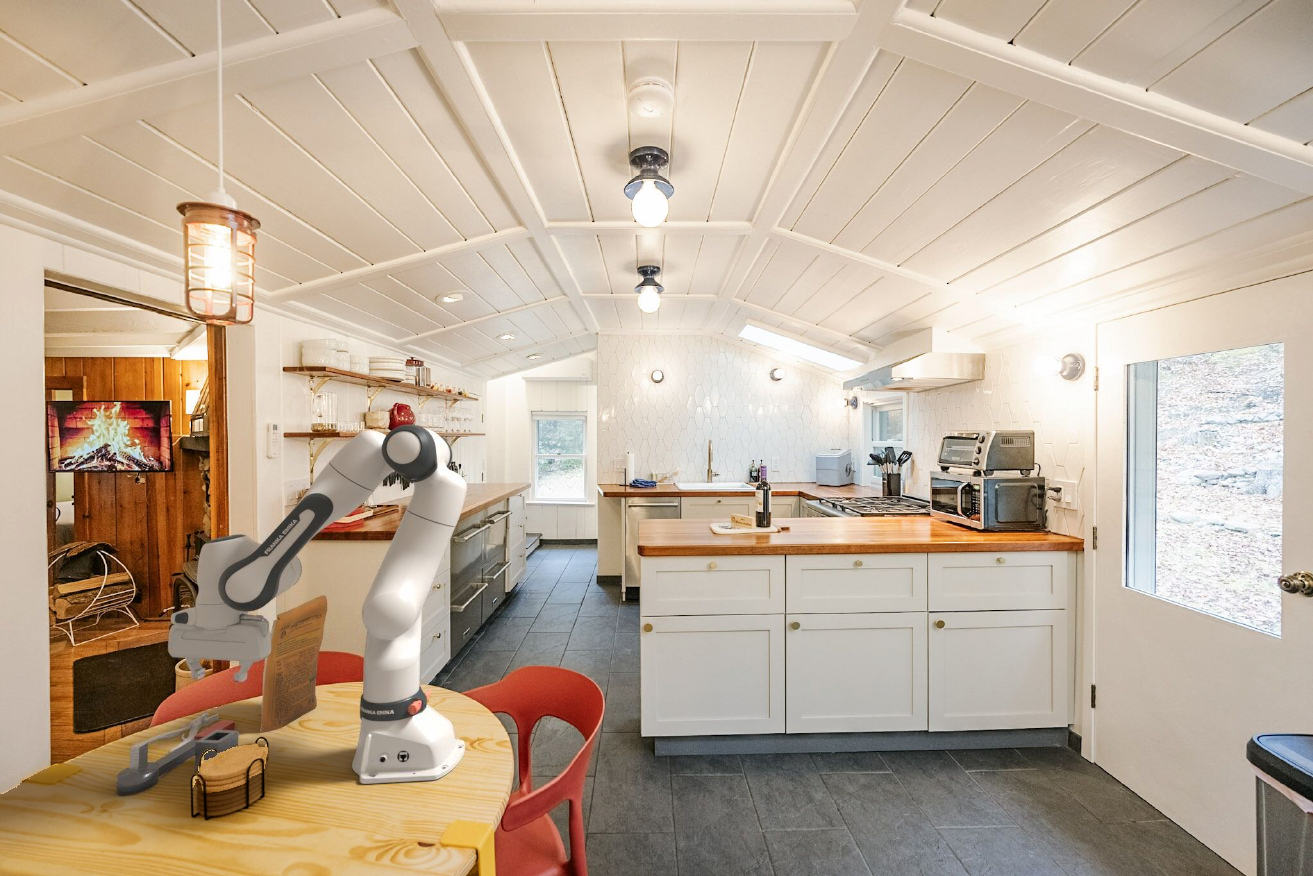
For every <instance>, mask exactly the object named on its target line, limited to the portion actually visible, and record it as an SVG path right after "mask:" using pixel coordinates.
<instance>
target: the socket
mask: <svg viewBox="0 0 1313 876" xmlns="http://www.w3.org/2000/svg"><path fill="white" fill-rule="evenodd" d="M239 733H240V732H239V730H235V731H232V730H215V731H213V732H212V733H210V734H208V735H207V736H205V737H203V738H201V739H200V740H198V741H196V743H195V756H194V773H195V772H196V773H198V772H197V771H198V766H199V762H200V759H201V755H202V753H204V751H206V750H207V749H216V750H217V752H216V751H212V750H211V751H208V753H206V754H205V755H204V760H208V759H209V758H213V757H215V756H216V755H217V753H220V752H223V751H226V750H227V749H230V748H232V747H236V746H238V747H239Z"/></svg>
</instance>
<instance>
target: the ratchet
mask: <svg viewBox="0 0 1313 876" xmlns="http://www.w3.org/2000/svg"><path fill="white" fill-rule="evenodd" d="M235 726H236V721H233V720H219V721H218V722H217V723H215V724H213V725H211V726H209V727H208V728H206V729H204V730H203V731H200V732H199V733H197V735H195V736H194V739H193V740H191V741H190V742H188V743H186V744H184V745H183V746H181V747H179V748H178V749H176V750H174V751H172V752H171V753H169V752H168V753H167V754H165V755H163V756H162V757H160V758H159V759H157V760H156V761H148V757H149V743H148V742H144V741H139V742H137V743H135V744H134V745H131V746H130V750H129V766H128V767H126V768H125V769H123V770H121V771H120V772H119V773H118V774H117V775H116V795H118V796H121V797H123V796H124V797H125V796H126V797H127V796H132V795H136V794H140V793H144V792H145V791H148V790H150V789H151V788H153V787H154V786H156V785H157V784H158V783H159V779H160V778H161V777H163V776H164V775H165V774H168V773H169V772H170V771H173V769H175V768H177V767H178V766H180V765H181V764H184V763H185V762H187V761H189V760H190V759H193V757H195V743H196V741H198V740H200V739H201V738H203V737H205V736H207V735H208V734H210V733H212V732H213V731H215V730H232V731H236V729H235V728H236V727H235Z"/></svg>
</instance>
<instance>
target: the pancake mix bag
mask: <svg viewBox="0 0 1313 876" xmlns="http://www.w3.org/2000/svg"><path fill="white" fill-rule="evenodd" d="M327 612H328V599H327V595H325V594H323V595H320V596H318V597H317V596H316V597H315V598H313V599H310V600H308V601H306V602H304V603H302V604H300V605H297V606H296V607H293V608H291V609H288V610H286V611H283V612H281V613H278V614H277V615H276V619H274V620H273V623H272V628H271V630H270V636H271V653H270V654H269V655H268V657H266V658H264V666H263V667H264V668H263V673H262V677H263V678H262V696H261V700H262V701H261V722H260V723H261V724H260V729H259V733H267V732H271V731H276V730H279V729H281V728H283V727H285V726H287V725H289V724H290V723H293V722H294V721H295V720H297V719H299V718H301V717H302V716H304V715H306V714H308V713H309V712H311V711H312V710H315V709H317V706H318V703H317V696H316V685H317V675H318V674H317V673H318V661H319V658H318V657H319V654H320V653H319V652H320V650H321V646H322V642H323V639H324V631H325V630H324V629H325V628H324V627H325V621H326V616H327Z"/></svg>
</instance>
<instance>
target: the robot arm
mask: <svg viewBox="0 0 1313 876" xmlns="http://www.w3.org/2000/svg"><path fill="white" fill-rule="evenodd" d="M452 461H453V450H452V447H451V445H450V443H449V442H448V441H447V439H445V438H444V437H443V436H441V435H439V434H438V433H437V432H435V431H434V430H431V429H429V428H426V427H422V426H421V425H416V424H403V425H399V426H397V427H395V428H392V430H390V431H389V432H388V433H387V434H384V433H382V432H380V431H377V430H374V429H367V430H363V431H361V432H359V433H358V434H357V435H355V436H354V437H353V438H352V439H350V440H349V441H348V442H346V444H345V445H344V446H343V447H341V449H340V450H338V452H336V454H335V455H334V456H333V457H332V458H331V459H330V460H329V461H328V463H327V464H326V465H325V467H323V468H322V469H321V471H320V473H319V474H318V475H317V476H316V478H315V479H314V481H313V482H312V483H311V485H310V487H309V488H308V490H307V491H306V492H305V493H304V495H303V496H302V497H301V498H300V500H299V502H298V503H297V504H296V505H295V507H294V508H293V509H292V510H291V511H290V513H288V515H287V516H286V517H285V518H284V519H283V520H282V521H281V522H280V523H279V524H278V526H277V527H276V528H275V529H274V530H273V531H272V532H271V533H270V535H269V536H268V537H267V538H266V539H265V540H264V541H263V542H262V543H260V542H257V541H255V540H254V539H253V538H251V537H250V536H248V535H247V534H233V535H226V536H223V537H221V536H220V537H217V538H214V539H211V540H209V541H207V542H206V543H205V544H203V545H202V547H201V549H200V553H199V556H198V557H199V558H198V564H197V574H196V584H197V586H198V593H197V597H195V598H196V599H195V605H193V606H191V607H188V608H185V609H182V610H179V611H176V612H174V613H172V614H171V615H170V622H171V624H172V626H170V629H169V634H168V641H167V642H168V643H167V646H168V647H167V652H168V653H169V655H170V656H171V657H172V658H182V659H186V660H185V664H186V665H187V667H188V669H189V671H190V672H191V673H190V679H192V680H200V679H203V678H204V677H205V676H206V673H205V672H206V667H205V668H204V667H202V665H201V663H200V660H212V661H213V660H217V661H229V662H232V661H233V662H238V666H239V667H240V669H239V670H238V672H235V673H233V682H234V683H243V682H244V681H246V680H247V679H248V672H249V670H250V668H251V667H252V665H253V664H254V663H258V662H260V661H262V660H265V658H266V657H268V655H269V654H270V653H271V636H270V634H271V630H270V622H269V620H268V619H267V618H265V617H264V615H261V614H256V615H254V614H249V612H254V611H258V610H260V609H262V608H265V606H266V605H268V604H269V603H270V602H271V601H273V600H274V599H275V598H277V597H280V595H282V594H283V593H285V592H286V591H288V590H290V589H291V588H292V587H294V586H295V585H296V584H297V583H298V581H299V580H300V578H301V576H302V573H303V572H302V571H303V567H302V563H301V561H300V559H299V558H298V555H299V553H300V552H301V551H302V550H303V549H304V548H305V547H306V545H307V544H308V543H310V541H311V540H312V539H313V538H314V537H315V536H316V535H317V534H319V533H320V532H321V531H323V530H324V529H325V528H326V527H329V526H330V525H331V524H334V523H336V522H337V521H339V520H340V519H341V520H342V519H343V518H345V517H347V516H348V515H350V514H352V513H353V512H354V511H356V509H358V508H359V507H360V506H361V505H362V504H364V503H365V502H366V501H367V500H368V499H369V498H370V496H371V495H373V493H374V492H375V491H376V489H378V487H379V486H380V485H381V484H382V482H383V481H384V480H385V479H386V478H387V477H388V476H389V475H390V474H392V473H395V472H396V474H398V475H400V476H401V477H402V478H404V480H405V481H407V482H408V483H412V484H413V485H414V486H413V487H414V488H413V494H412V496H411V498H410V501H409V503H408V505H407V507H406V509H405V511H404V513H403V516H402V518H401V521H400V523H399V524H398V526H397V529H396V531H395V534H394V536H393V538H392V540H391V542H390V545H389V547H388V549H387V551H386V553H385V556H384V558H383V560H382V562H381V564H380V566H379V569H378V570H377V573H376V575H375V577H374V579H373V582H372V584H371V586H370V587H369V588H370V589H369V590H368V592H367V594H366V597H365V599H364V601H363V604H362V606H361V619H362V622H363V623H362V624H363V625H364V628H365V630H366V635H365V636H366V638H365V648H364V656H363V676H362V677H363V681H362V694H361V696H360V703H359V718H360V728H359V729H360V731H359V735H358V736H359V737H358V741H357V747H356V751H355V754H354V758H353V760H352V763H351V768H352V771H354V772H355V773H356V774H357V775H358V776H359V783H360V784H363V785H364V784H365V785H366V784H367V785H370V784H384V783H402V782H403V783H405V782H419V781H435V780H438V779H441V778H443V777H444V776H446V775H447V774H448V773H450V772H451V771H452V770H454V768H455V767H456V766H457V765H459V763H460V761H461V760H462V758H463V756H464V754H465V752H466V743H465V741H464V740H463V739H458V738H456V736H455V730H454V726H453V723H452V722H451V720H449V718H446V716H444V715H442V714H441V713H439V712H438V711H437V710H436V709H434V708H433V707H431V705H429V704H428V701H427V700H428V698H429V697H431V695H432V694H431V692H432V690H431V689H429V690H428V691H427V692H426V693H425V692H424V691H423V689H422V687H421V685H420V680H421V679H420V678H421V677H420V676H421V674H420V673H421V671H420V670H421V644H422V641H421V640H422V623H423V622H422V621H423V620H422V619H423V607H424V606H425V605H424V604H425V602H426V600H427V597H428V594H429V591H430V589H431V586H432V585H433V582H434V580H435V577H436V575H437V573H438V572H437V571H438V569H439V566H440V564H441V561H442V560H443V559H442V558H443V557H444V555H445V552H446V549H447V547H448V546H449V544H450V541H451V538H452V536H453V533H454V531H455V529H456V526H457V524H458V522H459V519H460V517H461V515H462V511H463V507H464V504H465V501H466V497H467V492H468V484H467V482H466V480H465V478H463V476H461V474H459V473H458V472H455V471H453V470H452V469H449V468H450V465H451V464H452Z"/></svg>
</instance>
